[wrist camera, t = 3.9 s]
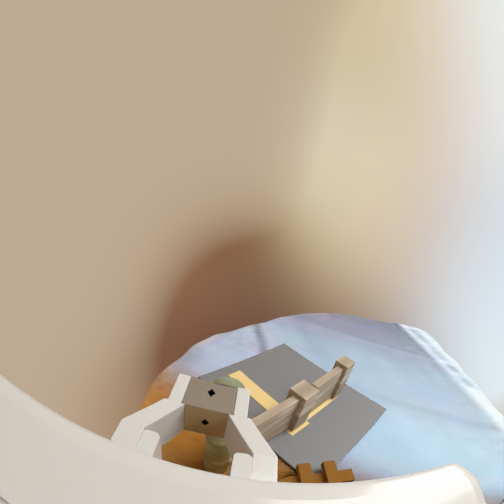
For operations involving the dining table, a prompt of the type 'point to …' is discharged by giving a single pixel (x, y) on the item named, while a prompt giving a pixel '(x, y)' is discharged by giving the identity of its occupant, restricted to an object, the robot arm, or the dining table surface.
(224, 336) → the dining table surface
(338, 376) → the fixed fence section
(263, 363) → the board
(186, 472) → the robot arm
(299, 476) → the decorative fence
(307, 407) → the swinging fence section
